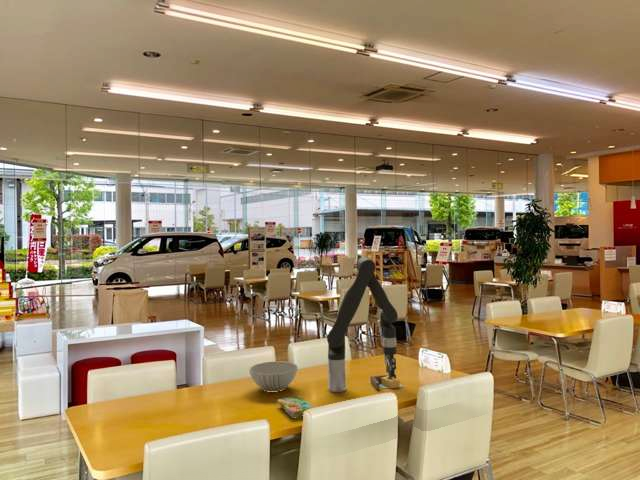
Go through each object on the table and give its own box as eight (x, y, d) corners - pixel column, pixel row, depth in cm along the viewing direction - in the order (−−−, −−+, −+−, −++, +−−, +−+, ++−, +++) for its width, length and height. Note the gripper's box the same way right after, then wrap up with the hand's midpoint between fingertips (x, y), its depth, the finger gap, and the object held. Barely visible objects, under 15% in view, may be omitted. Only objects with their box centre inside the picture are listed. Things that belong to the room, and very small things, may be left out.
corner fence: (376, 390, 272) (376, 383, 272) (370, 383, 286) (370, 375, 286) (402, 388, 274) (402, 381, 274) (395, 381, 288) (395, 374, 288)
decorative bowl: (267, 400, 261) (266, 377, 260) (240, 389, 281) (240, 367, 281) (308, 389, 278) (307, 367, 277) (280, 379, 298) (279, 358, 298)
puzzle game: (291, 410, 233) (277, 397, 251) (291, 420, 233) (277, 407, 251) (314, 406, 238) (299, 394, 256) (314, 416, 238) (299, 403, 256)
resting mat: (382, 388, 275) (382, 388, 275) (378, 384, 283) (378, 383, 283) (403, 387, 277) (403, 386, 277) (399, 382, 284) (399, 382, 284)
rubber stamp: (380, 383, 283) (380, 362, 282) (389, 382, 285) (388, 361, 285) (391, 388, 274) (390, 366, 274) (400, 386, 277) (399, 364, 276)
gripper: (400, 347, 273) (400, 377, 273) (392, 342, 287) (393, 370, 287) (386, 348, 272) (387, 378, 272) (379, 342, 286) (380, 371, 286)
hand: (390, 374), depth 280 cm, fingers open, 8 cm apart
